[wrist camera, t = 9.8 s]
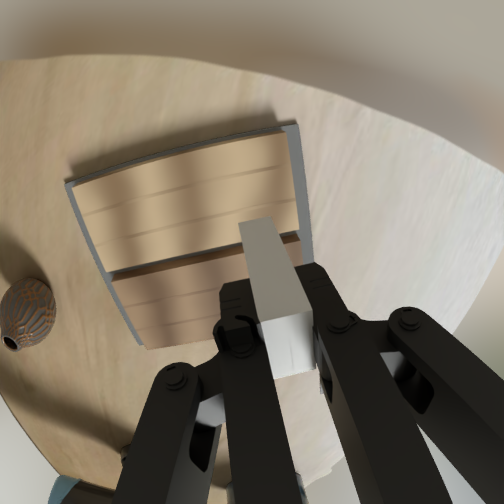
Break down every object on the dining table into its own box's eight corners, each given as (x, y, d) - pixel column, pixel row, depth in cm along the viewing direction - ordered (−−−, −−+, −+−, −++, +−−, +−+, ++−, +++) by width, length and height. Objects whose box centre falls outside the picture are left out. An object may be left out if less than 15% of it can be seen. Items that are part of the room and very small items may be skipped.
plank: (110, 264, 29) (106, 272, 28) (77, 182, 25) (71, 188, 23) (295, 222, 30) (299, 229, 28) (282, 130, 25) (286, 132, 24)
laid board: (148, 341, 35) (146, 350, 34) (114, 273, 30) (110, 282, 29) (304, 309, 35) (308, 318, 34) (296, 233, 30) (300, 240, 29)
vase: (73, 302, 32) (49, 356, 24) (43, 322, 32) (19, 372, 25) (35, 259, 28) (-1, 307, 21) (8, 284, 29) (-24, 330, 22)
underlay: (139, 343, 36) (139, 345, 35) (65, 183, 25) (64, 184, 25) (316, 307, 36) (317, 309, 36) (297, 123, 25) (298, 124, 25)
